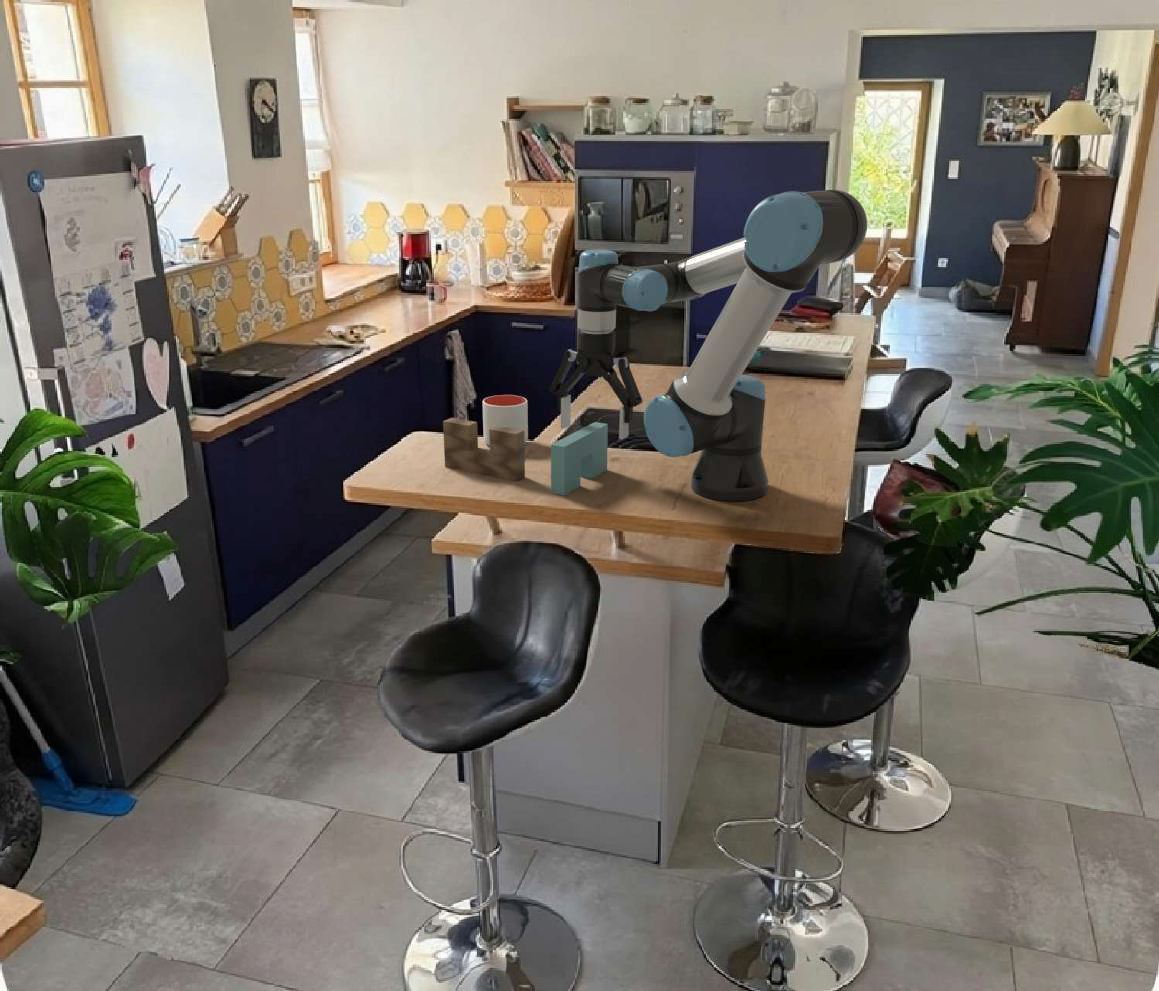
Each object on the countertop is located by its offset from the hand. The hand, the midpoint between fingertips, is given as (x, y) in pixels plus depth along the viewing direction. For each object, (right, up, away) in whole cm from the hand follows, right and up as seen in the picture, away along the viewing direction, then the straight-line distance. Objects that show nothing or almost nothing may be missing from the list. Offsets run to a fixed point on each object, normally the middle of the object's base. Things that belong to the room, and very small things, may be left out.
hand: (594, 432), depth 210 cm
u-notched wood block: (-23, -8, +2) cm, 24 cm away
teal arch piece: (-3, -10, -3) cm, 11 cm away
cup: (-20, -1, +21) cm, 29 cm away
